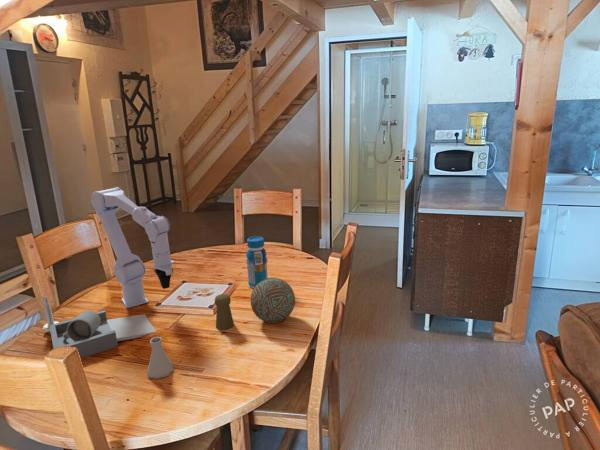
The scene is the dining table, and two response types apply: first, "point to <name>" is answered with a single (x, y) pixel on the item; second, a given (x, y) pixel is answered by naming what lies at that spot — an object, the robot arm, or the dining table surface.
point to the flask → (158, 360)
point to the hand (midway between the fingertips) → (165, 287)
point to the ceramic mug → (83, 326)
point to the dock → (103, 333)
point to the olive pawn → (223, 312)
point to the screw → (48, 314)
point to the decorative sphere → (272, 300)
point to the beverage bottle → (256, 261)
